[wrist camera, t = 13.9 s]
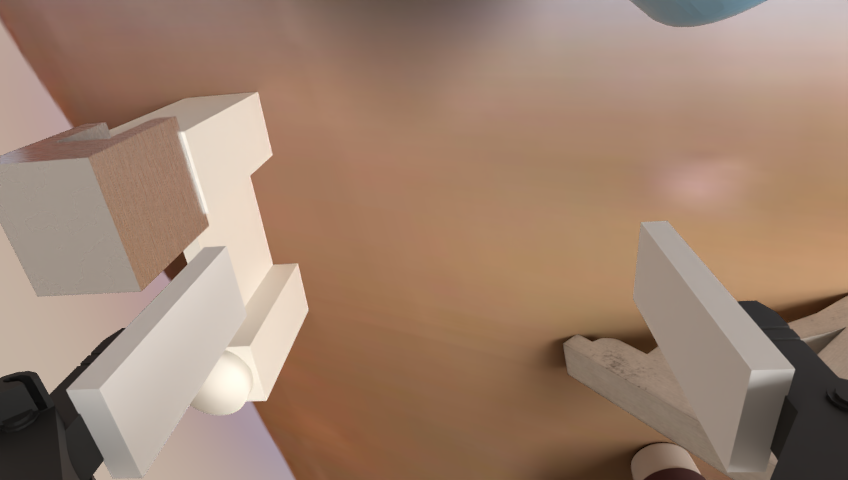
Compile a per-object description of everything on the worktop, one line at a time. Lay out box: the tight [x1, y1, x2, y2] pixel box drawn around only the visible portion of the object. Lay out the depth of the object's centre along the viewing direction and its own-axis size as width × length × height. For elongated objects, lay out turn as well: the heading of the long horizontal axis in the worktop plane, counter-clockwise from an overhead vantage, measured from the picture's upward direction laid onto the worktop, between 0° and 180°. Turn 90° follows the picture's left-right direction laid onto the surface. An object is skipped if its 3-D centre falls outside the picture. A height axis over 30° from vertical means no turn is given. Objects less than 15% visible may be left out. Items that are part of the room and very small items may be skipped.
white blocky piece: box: [109, 92, 309, 415], centre depth 45 cm, size 24×7×18 cm, turn 5°
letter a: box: [563, 296, 848, 480], centre depth 54 cm, size 22×4×30 cm
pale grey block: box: [0, 116, 209, 296], centre depth 32 cm, size 8×6×9 cm
